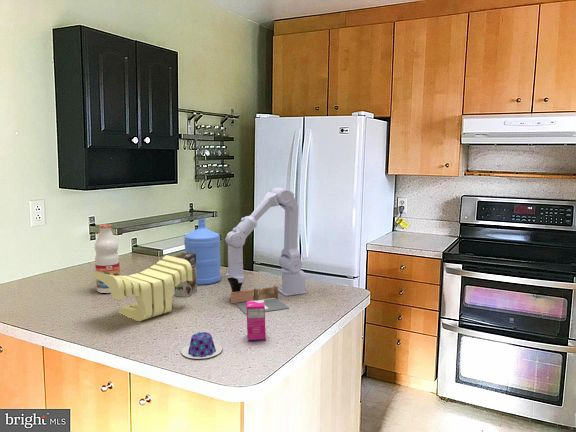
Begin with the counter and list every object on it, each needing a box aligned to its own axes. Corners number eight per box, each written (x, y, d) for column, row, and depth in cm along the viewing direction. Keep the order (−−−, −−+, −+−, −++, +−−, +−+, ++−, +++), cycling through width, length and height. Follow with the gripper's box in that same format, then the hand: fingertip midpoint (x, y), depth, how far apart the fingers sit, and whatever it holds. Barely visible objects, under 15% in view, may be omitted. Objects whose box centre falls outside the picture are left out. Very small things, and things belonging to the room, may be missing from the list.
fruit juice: (120, 286, 206) (116, 222, 202) (121, 292, 197) (118, 226, 193) (96, 289, 202) (92, 224, 198) (97, 295, 194) (93, 227, 190)
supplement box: (246, 334, 154) (246, 300, 152) (265, 334, 154) (265, 299, 152) (246, 341, 148) (246, 306, 146) (265, 341, 148) (265, 305, 147)
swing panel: (252, 299, 187) (252, 289, 186) (253, 300, 185) (253, 290, 185) (231, 302, 183) (230, 292, 183) (231, 303, 182) (231, 293, 182)
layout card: (270, 294, 195) (270, 293, 195) (289, 308, 178) (289, 307, 178) (230, 299, 189) (230, 298, 189) (245, 314, 171) (245, 313, 171)
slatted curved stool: (121, 330, 157) (118, 278, 154) (96, 319, 167) (93, 270, 164) (193, 307, 180) (191, 261, 177) (167, 298, 190) (166, 255, 187)
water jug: (227, 279, 218) (226, 218, 214) (204, 287, 205) (202, 223, 201) (202, 274, 226) (200, 215, 222) (178, 282, 213) (176, 220, 209)
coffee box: (188, 297, 192) (187, 258, 189) (174, 296, 193) (172, 257, 191) (197, 290, 200) (196, 253, 198) (183, 289, 202) (182, 252, 199)
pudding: (172, 356, 139) (172, 339, 138) (197, 341, 149) (197, 325, 148) (206, 364, 133) (206, 346, 133) (230, 348, 144) (229, 331, 143)
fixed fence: (276, 297, 191) (276, 286, 190) (278, 299, 189) (278, 287, 189) (252, 300, 187) (252, 289, 186) (254, 302, 185) (254, 290, 185)
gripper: (220, 259, 190) (221, 292, 192) (230, 267, 177) (231, 302, 179) (237, 257, 193) (237, 290, 194) (248, 265, 179) (249, 300, 181)
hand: (236, 296), depth 187 cm, fingers closed
